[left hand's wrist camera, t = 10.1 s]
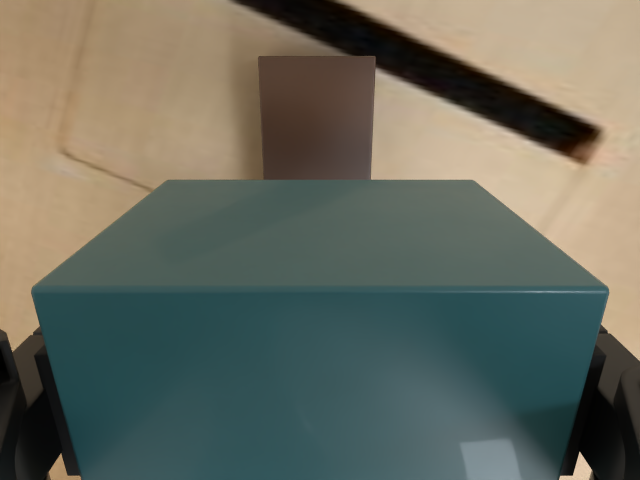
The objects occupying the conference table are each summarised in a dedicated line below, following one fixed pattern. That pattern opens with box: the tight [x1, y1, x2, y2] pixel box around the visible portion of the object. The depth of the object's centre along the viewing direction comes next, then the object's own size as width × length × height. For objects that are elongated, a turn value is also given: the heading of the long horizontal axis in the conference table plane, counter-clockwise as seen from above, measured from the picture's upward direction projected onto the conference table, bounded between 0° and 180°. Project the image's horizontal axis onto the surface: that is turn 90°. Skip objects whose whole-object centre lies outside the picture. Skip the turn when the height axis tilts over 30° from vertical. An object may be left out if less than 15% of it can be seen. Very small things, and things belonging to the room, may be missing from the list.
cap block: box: [31, 180, 609, 480], centre depth 10 cm, size 6×8×6 cm
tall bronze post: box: [258, 56, 376, 180], centre depth 30 cm, size 28×6×5 cm, turn 0°
